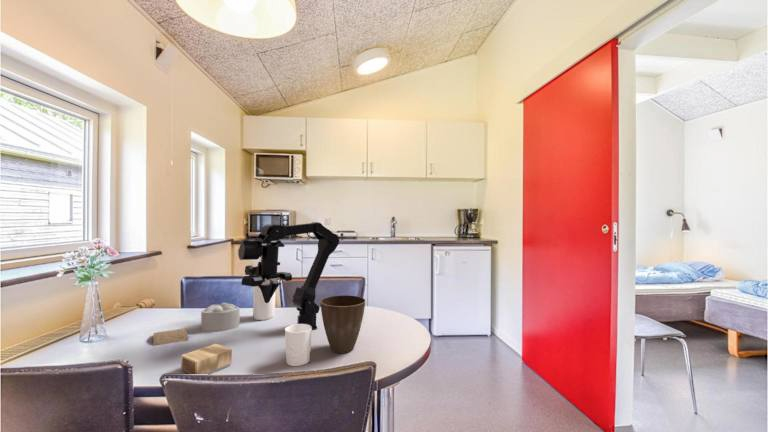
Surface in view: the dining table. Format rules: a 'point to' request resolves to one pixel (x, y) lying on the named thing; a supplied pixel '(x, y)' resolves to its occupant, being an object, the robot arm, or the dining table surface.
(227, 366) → the felt mat
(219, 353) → the oak block
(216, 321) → the lumpy-topped squat cylinder
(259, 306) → the alcohol
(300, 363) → the white cup
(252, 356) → the dining table surface
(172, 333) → the clay tablet
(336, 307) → the plant pot
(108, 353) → the dining table surface
